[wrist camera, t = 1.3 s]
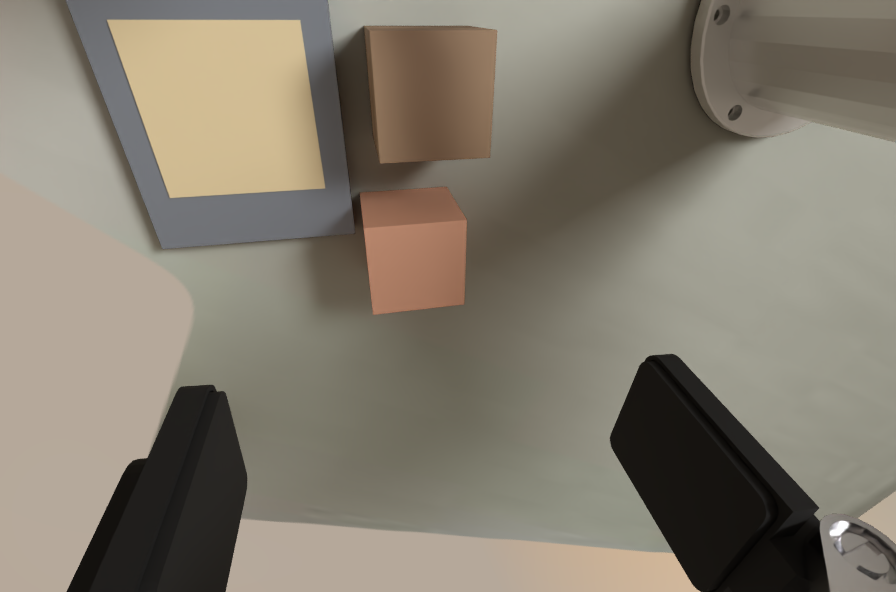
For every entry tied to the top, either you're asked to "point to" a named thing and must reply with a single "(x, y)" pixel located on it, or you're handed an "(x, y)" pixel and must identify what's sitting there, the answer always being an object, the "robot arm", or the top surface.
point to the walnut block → (431, 91)
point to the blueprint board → (224, 114)
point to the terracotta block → (414, 249)
